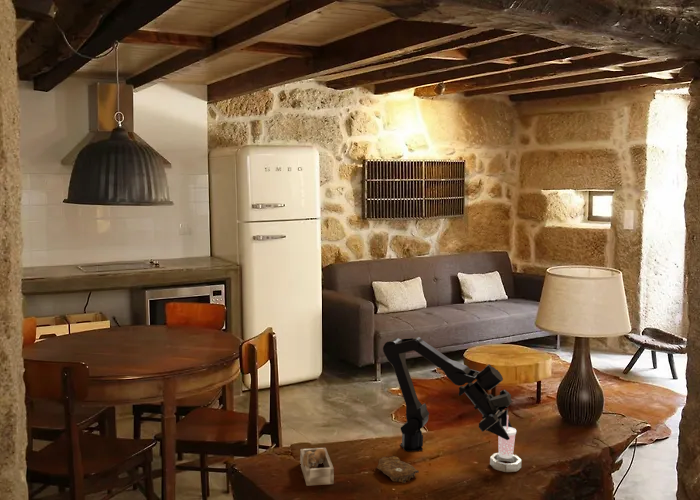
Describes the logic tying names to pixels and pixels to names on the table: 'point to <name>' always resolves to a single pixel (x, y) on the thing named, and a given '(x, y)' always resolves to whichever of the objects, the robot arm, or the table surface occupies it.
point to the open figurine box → (317, 470)
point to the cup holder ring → (505, 466)
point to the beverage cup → (507, 442)
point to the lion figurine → (313, 458)
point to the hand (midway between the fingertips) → (510, 436)
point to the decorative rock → (396, 469)
